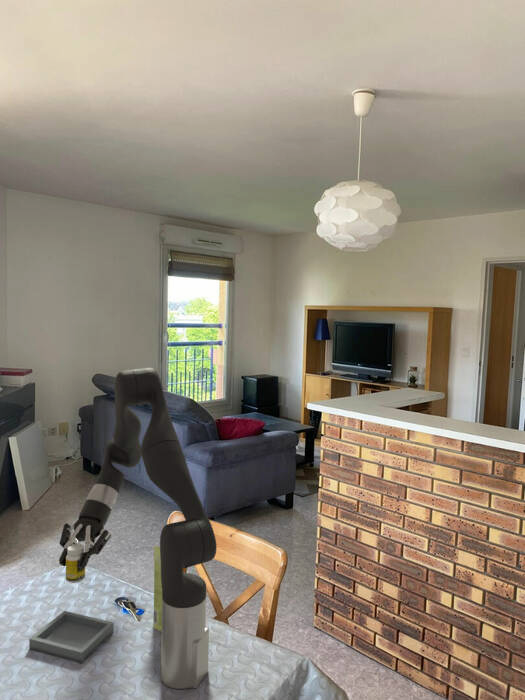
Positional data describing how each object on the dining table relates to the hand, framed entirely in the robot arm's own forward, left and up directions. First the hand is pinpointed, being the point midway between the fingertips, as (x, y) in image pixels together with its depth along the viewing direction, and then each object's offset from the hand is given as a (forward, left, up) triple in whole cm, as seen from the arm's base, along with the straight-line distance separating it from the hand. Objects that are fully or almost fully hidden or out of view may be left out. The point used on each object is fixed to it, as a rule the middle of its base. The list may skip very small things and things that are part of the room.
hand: (70, 566), depth 135 cm
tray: (-9, +11, -11) cm, 18 cm away
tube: (-26, -2, -12) cm, 28 cm away
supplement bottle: (0, -2, -4) cm, 5 cm away
